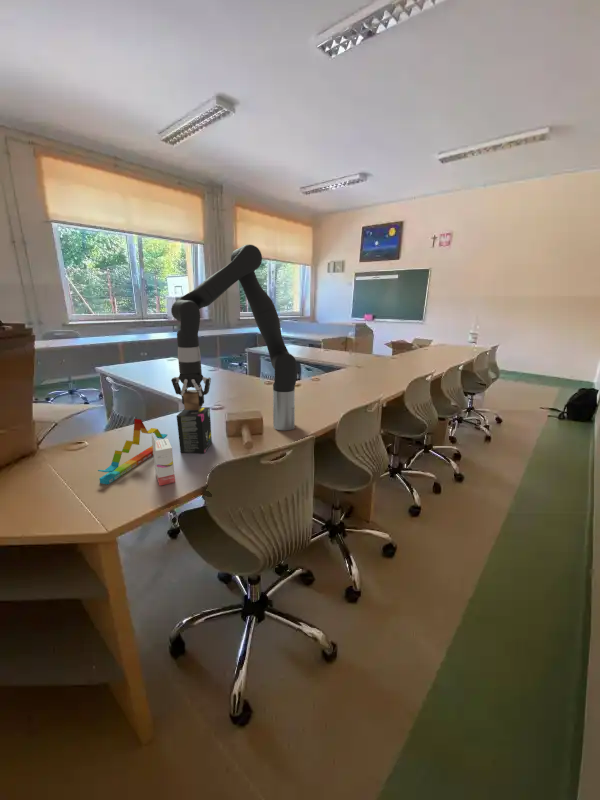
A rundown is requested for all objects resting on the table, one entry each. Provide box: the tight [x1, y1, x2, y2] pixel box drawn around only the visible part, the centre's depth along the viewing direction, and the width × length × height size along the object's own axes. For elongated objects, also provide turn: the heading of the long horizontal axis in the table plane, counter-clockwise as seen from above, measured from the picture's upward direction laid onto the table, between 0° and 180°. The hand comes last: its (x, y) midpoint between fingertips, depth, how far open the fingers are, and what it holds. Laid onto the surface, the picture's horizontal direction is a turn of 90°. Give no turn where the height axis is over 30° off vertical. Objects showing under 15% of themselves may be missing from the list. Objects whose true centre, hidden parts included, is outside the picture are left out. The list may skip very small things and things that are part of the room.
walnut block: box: [183, 389, 203, 410], centre depth 124 cm, size 5×5×6 cm
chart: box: [97, 418, 168, 485], centre depth 116 cm, size 30×3×15 cm, turn 165°
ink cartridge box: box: [151, 433, 176, 487], centre depth 105 cm, size 9×5×15 cm, turn 29°
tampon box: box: [176, 406, 213, 454], centre depth 127 cm, size 11×9×15 cm
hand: (193, 405), depth 124 cm, fingers closed on walnut block, 5 cm apart
